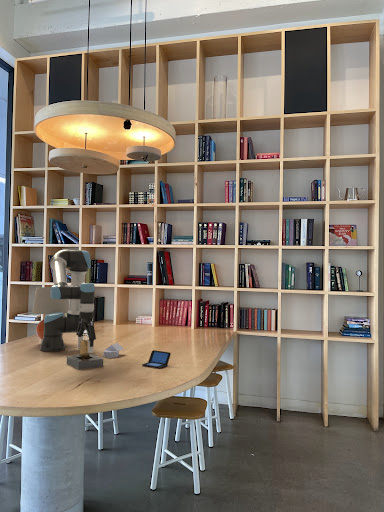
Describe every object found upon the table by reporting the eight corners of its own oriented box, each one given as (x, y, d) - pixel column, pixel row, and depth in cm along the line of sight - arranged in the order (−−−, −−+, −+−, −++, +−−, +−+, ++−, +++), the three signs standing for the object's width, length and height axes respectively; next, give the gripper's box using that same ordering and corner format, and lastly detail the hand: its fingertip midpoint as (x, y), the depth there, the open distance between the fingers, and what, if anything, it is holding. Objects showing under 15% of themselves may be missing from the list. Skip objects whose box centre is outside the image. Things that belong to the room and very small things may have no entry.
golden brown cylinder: (78, 362, 227) (79, 340, 227) (87, 361, 230) (87, 339, 230) (82, 364, 223) (82, 341, 223) (91, 363, 226) (91, 341, 226)
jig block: (66, 363, 228) (66, 356, 228) (90, 361, 237) (90, 353, 237) (78, 369, 215) (78, 361, 216) (103, 366, 224) (103, 358, 224)
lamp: (73, 341, 300) (75, 287, 301) (59, 347, 275) (61, 288, 277) (40, 340, 302) (43, 286, 304) (23, 346, 277) (26, 287, 279)
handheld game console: (140, 366, 227) (141, 352, 227) (151, 363, 237) (152, 349, 237) (160, 369, 221) (160, 355, 221) (170, 365, 231) (171, 352, 231)
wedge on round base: (110, 353, 261) (100, 356, 249) (111, 342, 262) (101, 345, 249) (123, 354, 259) (114, 358, 246) (124, 343, 259) (114, 346, 247)
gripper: (71, 309, 235) (69, 347, 234) (90, 313, 215) (88, 355, 214) (83, 309, 239) (82, 346, 239) (103, 313, 220) (101, 353, 219)
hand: (85, 350), depth 226 cm, fingers open, 13 cm apart
